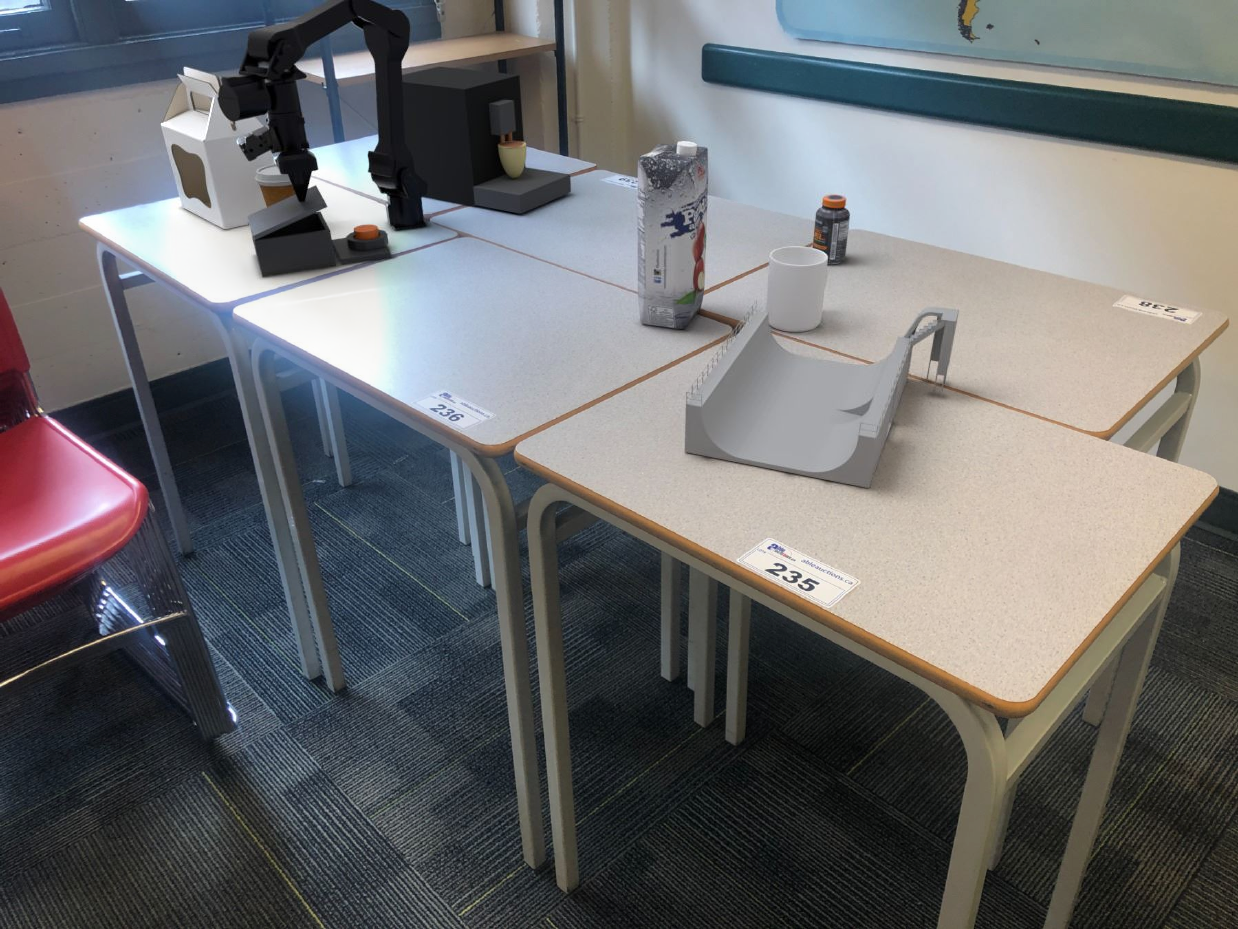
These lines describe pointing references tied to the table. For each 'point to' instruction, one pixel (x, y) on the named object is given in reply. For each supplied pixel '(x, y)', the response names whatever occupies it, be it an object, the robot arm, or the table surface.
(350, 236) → the button base
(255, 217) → the lid
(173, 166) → the gable box
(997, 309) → the table surface
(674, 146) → the juice carton
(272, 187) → the disposable coffee cup
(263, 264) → the dark grey boxy piece
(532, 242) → the table surface
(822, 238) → the pill bottle
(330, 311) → the table surface
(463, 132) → the coffee maker
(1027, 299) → the table surface
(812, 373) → the skate ramp
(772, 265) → the mug
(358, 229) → the button
